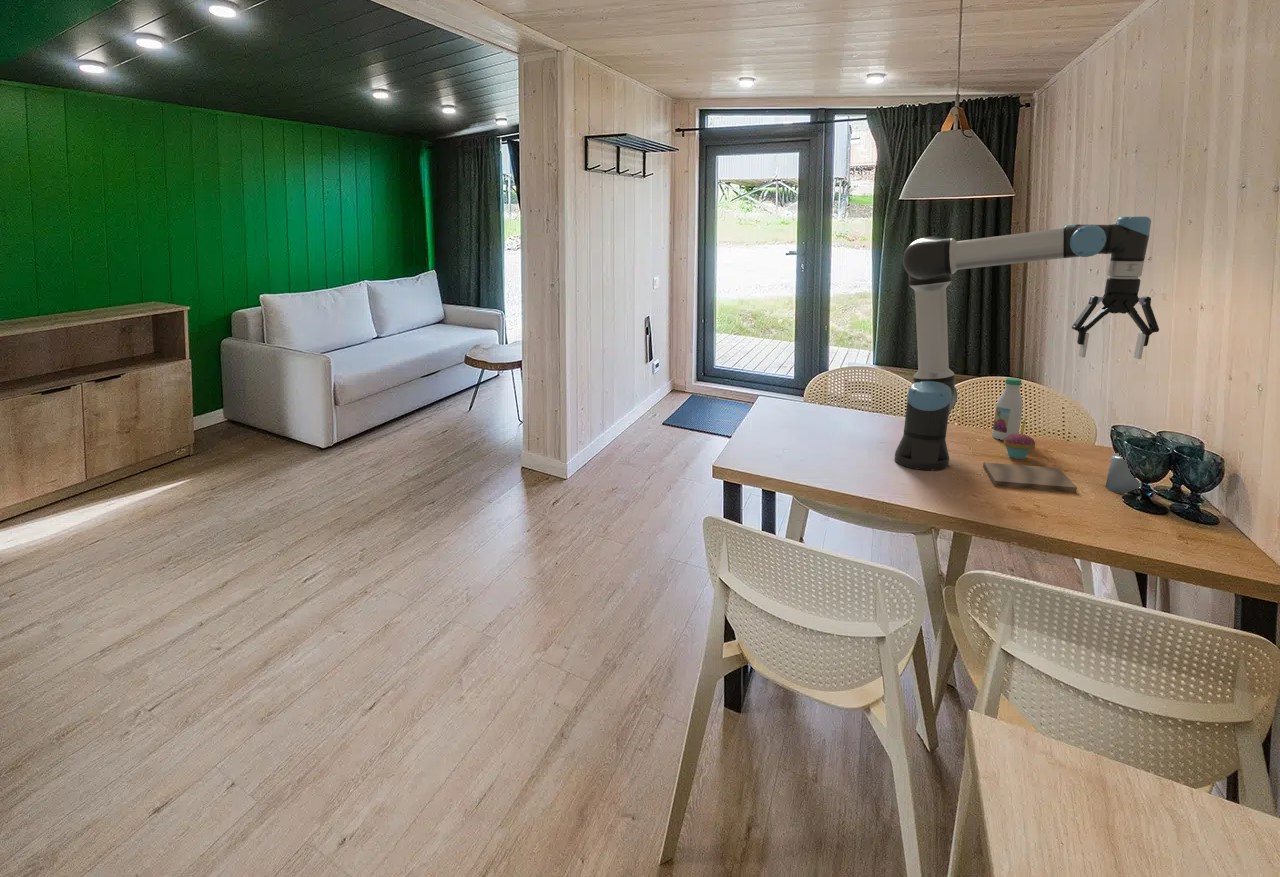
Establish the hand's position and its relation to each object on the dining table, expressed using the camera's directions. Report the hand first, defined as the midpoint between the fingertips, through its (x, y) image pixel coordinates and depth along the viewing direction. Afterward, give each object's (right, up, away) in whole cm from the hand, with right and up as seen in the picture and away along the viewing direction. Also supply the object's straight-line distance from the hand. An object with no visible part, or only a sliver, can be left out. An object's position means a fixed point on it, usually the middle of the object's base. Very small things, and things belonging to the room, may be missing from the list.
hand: (1109, 357), depth 196 cm
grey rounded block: (+2, -36, -2) cm, 36 cm away
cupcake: (-13, -28, +24) cm, 39 cm away
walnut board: (-20, -33, +5) cm, 39 cm away
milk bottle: (-7, -22, +43) cm, 48 cm away
